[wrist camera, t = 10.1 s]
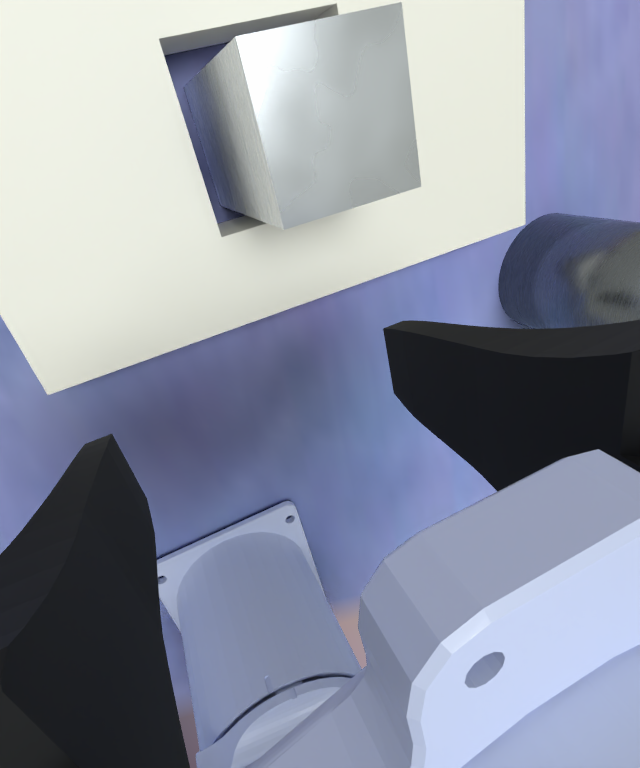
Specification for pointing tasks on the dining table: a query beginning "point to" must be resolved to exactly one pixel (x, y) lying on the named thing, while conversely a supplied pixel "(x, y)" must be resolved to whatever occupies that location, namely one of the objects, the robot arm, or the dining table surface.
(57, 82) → the cream socket block
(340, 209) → the square steel peg
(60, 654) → the robot arm
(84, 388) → the dining table surface
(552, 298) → the round dark peg
